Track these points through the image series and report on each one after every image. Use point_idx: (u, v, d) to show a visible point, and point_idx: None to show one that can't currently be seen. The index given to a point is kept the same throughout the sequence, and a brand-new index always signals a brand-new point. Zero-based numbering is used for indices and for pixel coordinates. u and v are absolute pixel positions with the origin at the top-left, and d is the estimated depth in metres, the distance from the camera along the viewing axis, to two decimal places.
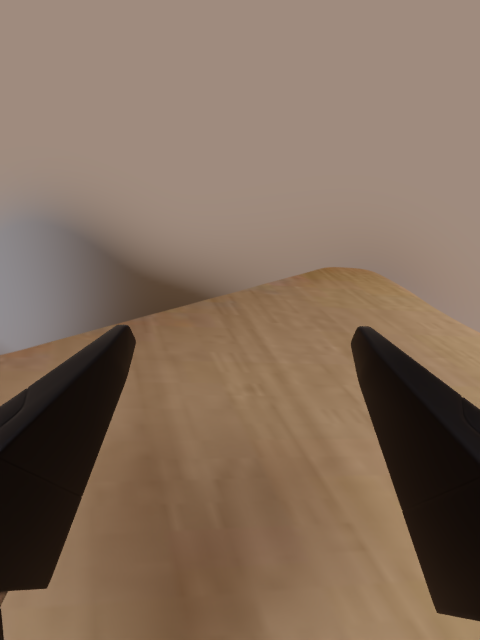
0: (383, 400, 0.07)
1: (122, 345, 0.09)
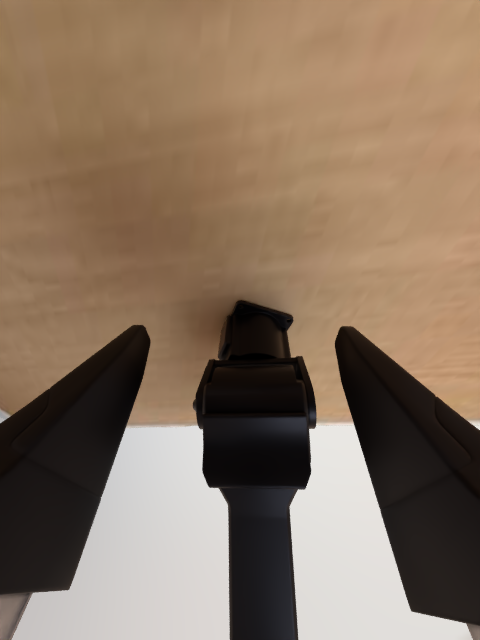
0: (362, 400, 0.07)
1: (139, 345, 0.09)
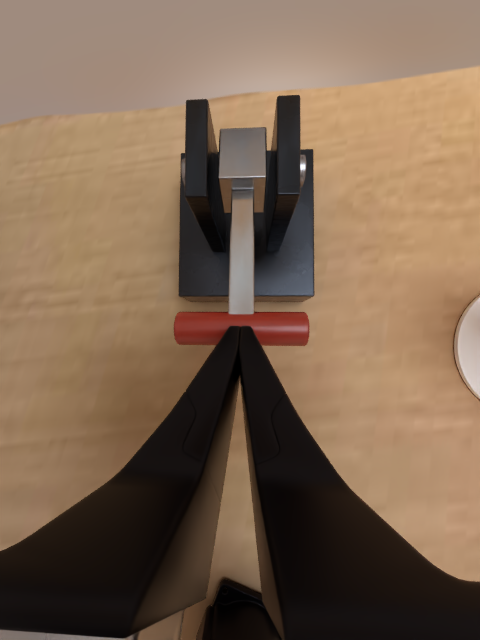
0: None
1: None
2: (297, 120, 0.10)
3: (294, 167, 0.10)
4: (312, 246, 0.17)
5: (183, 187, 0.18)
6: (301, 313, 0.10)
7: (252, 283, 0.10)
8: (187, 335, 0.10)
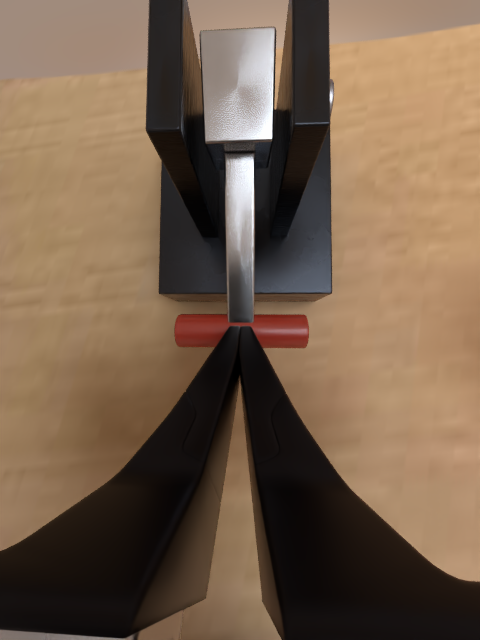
0: None
1: None
2: (324, 8, 0.06)
3: (320, 82, 0.06)
4: (329, 229, 0.13)
5: None
6: (302, 320, 0.10)
7: (252, 289, 0.09)
8: (189, 344, 0.10)
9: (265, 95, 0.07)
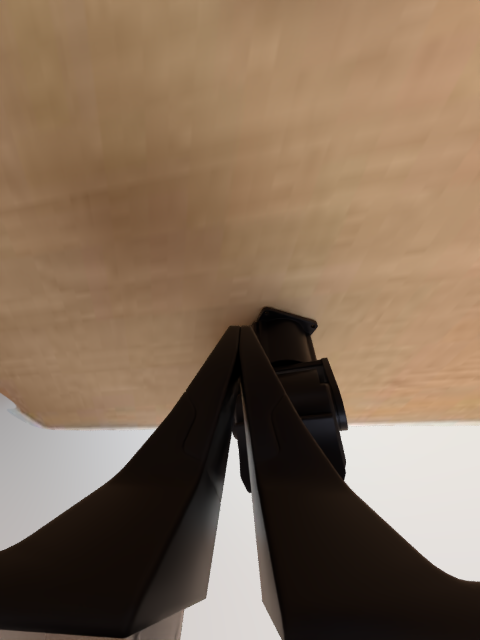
0: None
1: None
2: None
3: None
4: None
5: None
6: None
7: None
8: None
9: None
